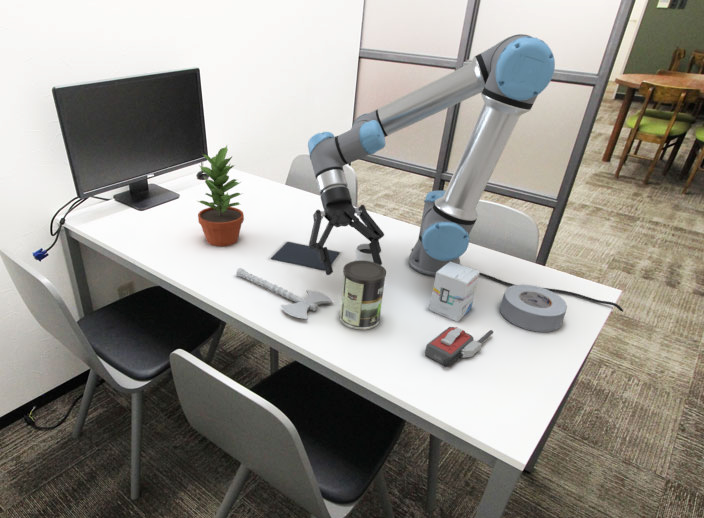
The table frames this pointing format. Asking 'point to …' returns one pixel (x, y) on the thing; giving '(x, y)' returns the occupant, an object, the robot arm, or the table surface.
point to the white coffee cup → (363, 253)
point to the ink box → (453, 290)
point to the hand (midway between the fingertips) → (354, 269)
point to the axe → (290, 296)
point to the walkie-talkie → (453, 345)
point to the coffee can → (362, 294)
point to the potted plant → (220, 204)
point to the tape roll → (533, 308)
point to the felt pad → (302, 255)
